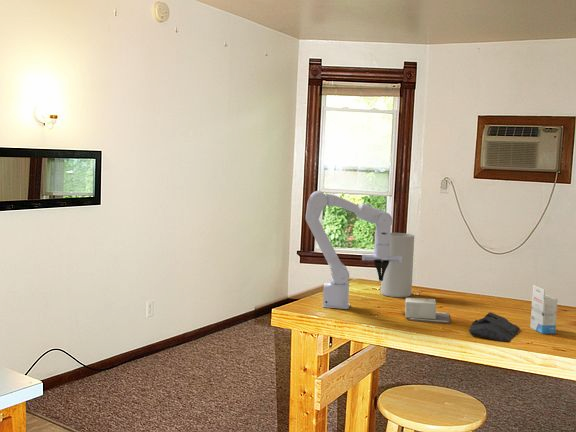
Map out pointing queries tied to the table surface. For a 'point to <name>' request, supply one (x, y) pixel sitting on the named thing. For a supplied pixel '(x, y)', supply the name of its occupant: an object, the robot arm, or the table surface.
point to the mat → (439, 319)
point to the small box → (420, 308)
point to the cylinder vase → (399, 267)
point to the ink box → (543, 312)
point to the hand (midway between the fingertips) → (381, 280)
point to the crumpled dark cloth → (494, 328)
